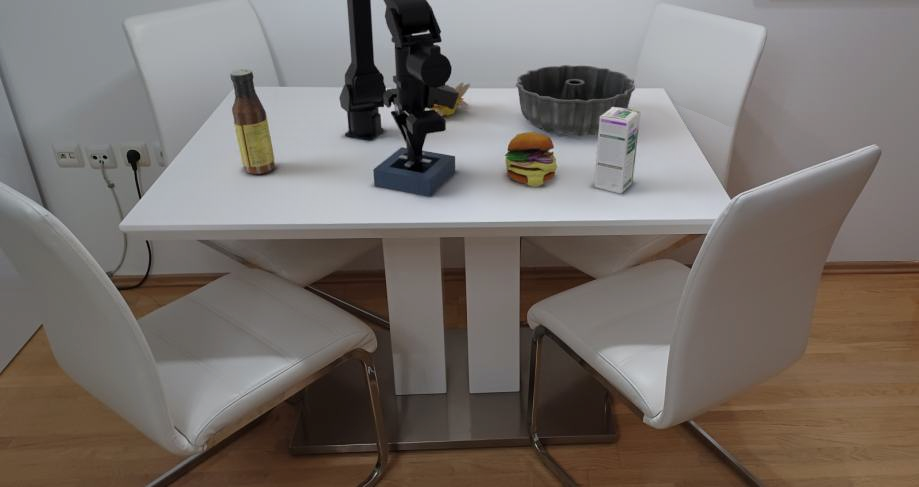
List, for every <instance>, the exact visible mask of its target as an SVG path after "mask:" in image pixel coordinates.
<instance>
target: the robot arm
mask: <svg viewBox="0 0 919 487" xmlns="http://www.w3.org/2000/svg"><path fill="white" fill-rule="evenodd" d="M383 3H384V4H385V12H384V19H385V23H386V27H387V29H388V31H389V33H390V35H391V43H393V44H394V62H395V64H394V65H395V75H392V81H393V82H392V83H394V84H395V85H396V88H388V89H387V86H386V84H385V78H384V75H383V73H382V72H380V70H379V69H378V67H377V66H376V64H375V54H374V53H375V52H374V36H373V35H374V34H373V19H372V18H373V17H372V0H346V8H347V18H348V19H347V21H348V33H349V47H350V63H349V66H348V68H347V70H346V71H345V74H344V85H343V87H342V89H341V91H340V94H339V97H338V98H339V103H340V107H341V109H342V110H343V111H345V112H346V115H347V116H346V117H347V123H348V124H347V128H348V131H347V132H345V133H344V136H345V137H347V138H354V139H355V138H356V139H360V140H367V141H371V140H372V139H374V138H375V137H377V136H378V135H379V134H381V133H383V131H384V128H383V127H382V115H381V113H380V111H379V108H385V107H386V108H388V109H389V108H391V107H392V105H393V106H394V110H392V111H390V115H391V117H392V119H393V120H394V122H395V124H396V126H397V128H398V130H399V132H400V134H401V136H402V139H403V140H404V142H405V143H406V136H407V139H408V141H409V144H410V146H411V149H412V151H413V153H414V155H415V156H420V155H421V152H422V151H423V149H424V145H425V141H426V138H427V135H428V134H434V133H435V134H436V133H441V132H445V131H446V130H447V125H446V124H447V121H446V118H444V117H443V116H441V115H440V114H439V113H437V112H436V111H435V110H431V109H429V108H434V104H437V105H441V106H445V107H448V108H449V109H454V107H455V104H456V101H457V98H458V95H459V93H458V92H457V91H456V90H455V89H453V88H454V87H453V86H450V85H449V84H446V83H447V82H448V81H449V80H450V78H451V75H452V71H453V69H452V68H453V67H452V64H451V62H450V60H449V58H448V57H447V56H446V55H444V54H443V53H442V51H441V46H440V45H438V44H439V43H442V37H441V33H442V30H441V28H440V25H439V23H438V20H437V18H436V15H435V13H434V10H433V8H432V6H431V5H430V3H429V1H428V0H383ZM452 87H453V88H452ZM425 108H426V109H429V110H426V109H425Z"/></svg>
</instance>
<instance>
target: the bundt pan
mask: <svg viewBox="0 0 919 487" xmlns="http://www.w3.org/2000/svg"><path fill="white" fill-rule="evenodd" d="M516 79H517V80H516V82H515V87H516V88H517V92H518V99H519V105H520V110H521V113H522V116H523V117H524V118H525V119H526V120H527V121H528V122H529V123H530V124H531V125H532V126H534V127H535V128H537V129H542V130H543V131H544V132H546V133H548V134H552V133H554V132H555V133H557V134H559V135H562V136H569V135H572V134H575V135H576V136H578V137H582V136H584V135H585V134H588V135H597V134H598V132H599V121H600V116H601V115H602V114H604V113H605V112H606V111H608V110H610V109H611V107H619V108H627V109H629V104H630V101H631V98H632V94H633V92H634V91H635V90H636V85H635V84H634V83H635V79H632V78H629V77H628V75H627V74H625V73H623V72H619V71H615V70H611V69H609V68H607V67H604V68H603V67H597V66H591V65H569V64H563V65H559V66H558V65H555V66H554V65H552V66H551V65H550V66H549V65H548V66H542V67H539V68H536V69H532V70H527V72H526V73H523V74H520V75H519V76H517V78H516Z"/></svg>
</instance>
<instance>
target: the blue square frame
mask: <svg viewBox="0 0 919 487" xmlns="http://www.w3.org/2000/svg"><path fill="white" fill-rule="evenodd" d="M422 152H423V153H425V155H424V156H423V159H428V160H432V162H431V163H430V164H424V163H423V167H426V168H428V170H427V171H426V172H425V173H420V172H415V171H409V170H403V168H406V167H405V166H404V165H405V164H406V163H407V160H401V159H398V157H399V156H400V155H404V156H407V147H403V146H400V148H398V149H397V150H396V151H394V153H392V154H391V155H390V156H388V157H387V158H386V159H384V160H383V161H381V163H380V164H378V165H377V166H376V167H374V168H373V169H372V170H373V184H374V187H377V188H383V189H388V190H393V191H399V192H404V193H410V194H415V195H420V196H426V197H432V195H434V194H435V193H436V192H437V191H438V189H440V188H441V187H442V186H443V185H444V184H445V183H446V182H447V181H448V180H449V179H450V178H451V177H452V176H453V175H454V174H455V173H456V156H455V155H451V154H444V153H439V152H433V151H428V150H422Z"/></svg>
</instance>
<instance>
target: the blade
mask: <svg viewBox="0 0 919 487" xmlns="http://www.w3.org/2000/svg"><path fill="white" fill-rule="evenodd" d="M405 145H406V146H405V147H406V148H407V156H404V155H400V156H399V157H398V159H401V160H407V163H406V164H405V165H404V166H405V167H406V168H403V170H409V171H415V172H420V173H425V172H426V171H427V170H428V168H426V167H423V163H424V164H430V163H431V162H432V160H428V159H423V156H424V155H425V153H423V152H421V155H420V156H415V155H414V153H413V151H412V149H411V146H410V144H409V141H408V139H407V136H406V142H405Z"/></svg>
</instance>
